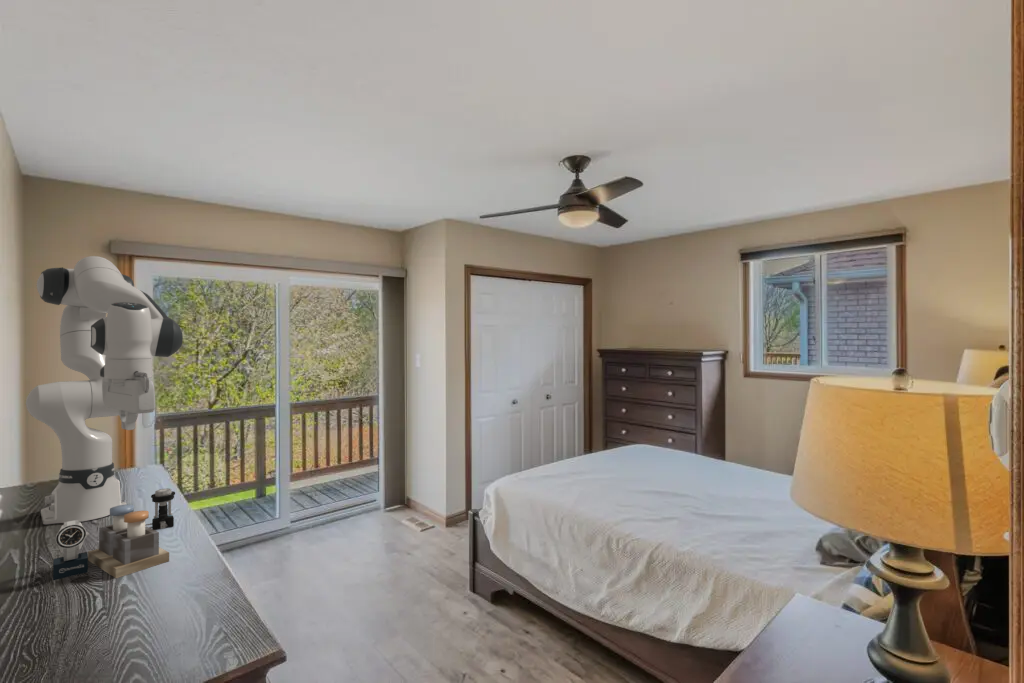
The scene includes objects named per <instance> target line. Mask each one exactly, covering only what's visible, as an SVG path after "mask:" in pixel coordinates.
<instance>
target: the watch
mask: <svg viewBox="0 0 1024 683" xmlns="http://www.w3.org/2000/svg"><path fill="white" fill-rule="evenodd" d="M81 522H82V521H81ZM81 522H78V520H74V521H69V522H64V523H63V525H61V526H60V529H59V531H58V532H57V533H56V536H55V543H56V545H57V547H58V549H59V551H60V553H61V554H63V556H61V557H56V558H53V563H52V564H53V565H52V566H53V567H52V568H53V569H52V571H53V572H52V580H53V581H57V580H60V579H65V578H69V577H74V576H77V575H82V574H85V573H88V572H89V561H88V551H84V552H79V550H82V547H83V545H84V541H85V539H86V537H88V536H90V533H89V531H87V530H86V528H85V527H84V526H83V524H82V523H81Z"/></svg>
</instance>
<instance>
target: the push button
mask: <svg viewBox="0 0 1024 683" xmlns="http://www.w3.org/2000/svg"><path fill="white" fill-rule="evenodd" d="M175 495H176V492H175V490H174V491H172V489H171V488H161V489H157V490H155V491H154V493H153V494H151V495H150V498H151V500H152V502H153V503H154V515H153V518H152V521H151V523H147V524H146V523H145V527H148V526H149V528H151V529H153V530H155V531H157V530H161V529H167V528H173V527H174V524H175V519H174V518H175V517H174V515H173V513H172V500H173V499H175Z"/></svg>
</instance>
